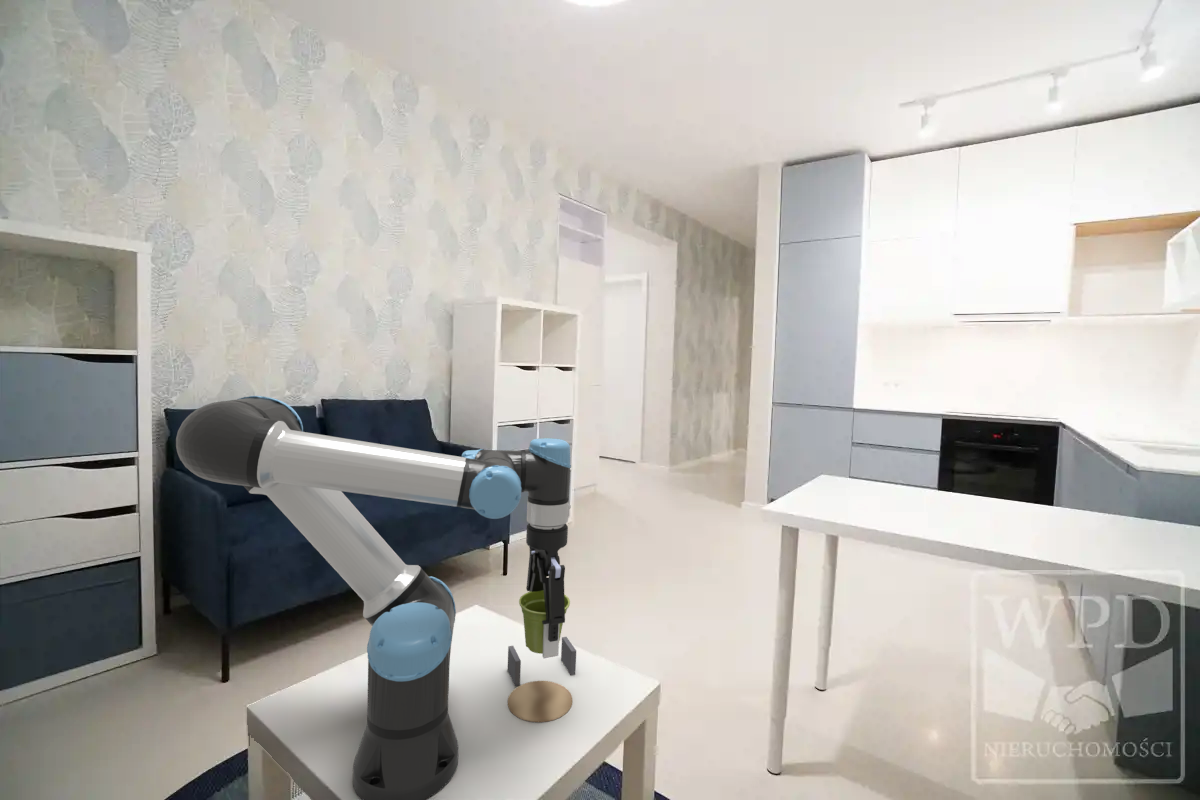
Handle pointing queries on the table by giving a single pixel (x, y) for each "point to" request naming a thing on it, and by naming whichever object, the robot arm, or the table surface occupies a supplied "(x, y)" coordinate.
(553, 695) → the coaster
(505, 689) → the table surface
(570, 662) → the twin grey plates
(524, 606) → the plant pot
